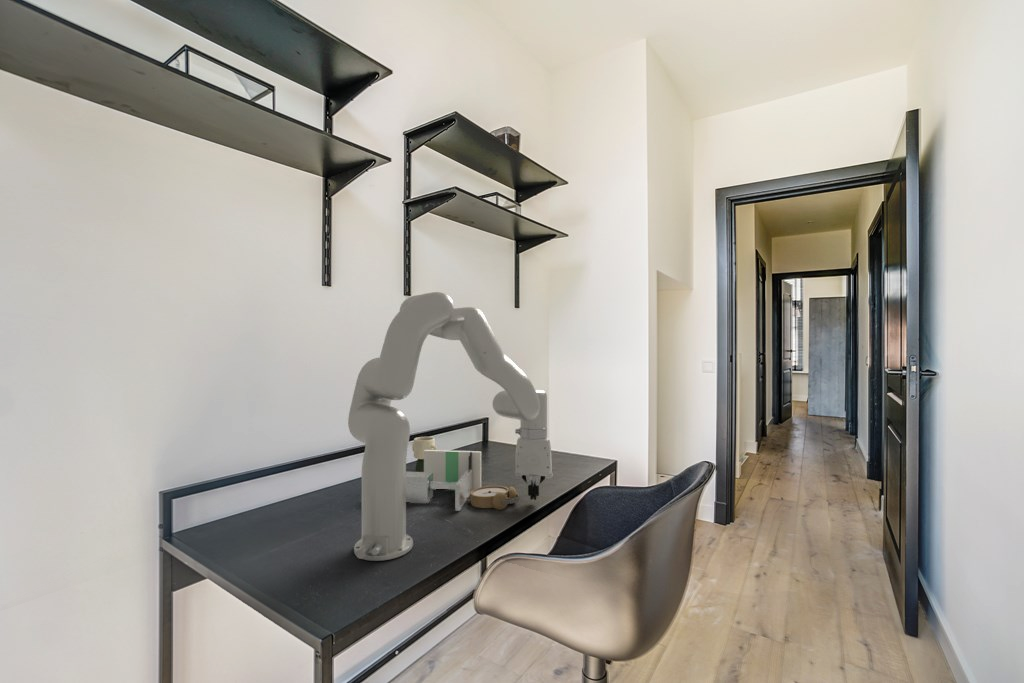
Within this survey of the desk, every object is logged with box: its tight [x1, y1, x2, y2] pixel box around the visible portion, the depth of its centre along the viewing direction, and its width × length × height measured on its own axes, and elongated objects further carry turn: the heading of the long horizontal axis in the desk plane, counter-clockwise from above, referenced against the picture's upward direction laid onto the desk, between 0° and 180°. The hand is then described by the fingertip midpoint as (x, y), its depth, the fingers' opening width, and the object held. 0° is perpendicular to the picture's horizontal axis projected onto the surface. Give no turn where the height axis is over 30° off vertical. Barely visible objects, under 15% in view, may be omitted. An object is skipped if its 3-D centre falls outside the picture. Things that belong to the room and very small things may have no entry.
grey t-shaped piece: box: [429, 456, 472, 512], centre depth 134 cm, size 17×11×11 cm, turn 173°
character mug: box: [411, 436, 438, 472], centre depth 158 cm, size 11×7×13 cm, turn 57°
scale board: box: [424, 449, 482, 491], centre depth 144 cm, size 1×18×12 cm, turn 83°
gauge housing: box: [406, 471, 434, 504], centre depth 135 cm, size 6×13×7 cm, turn 83°
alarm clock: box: [467, 485, 521, 511], centre depth 132 cm, size 11×5×15 cm
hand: (533, 498), depth 131 cm, fingers closed
